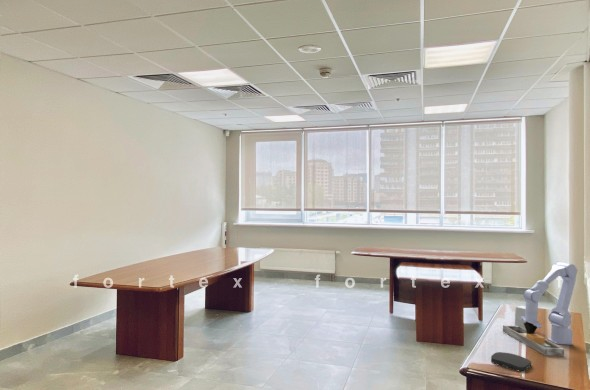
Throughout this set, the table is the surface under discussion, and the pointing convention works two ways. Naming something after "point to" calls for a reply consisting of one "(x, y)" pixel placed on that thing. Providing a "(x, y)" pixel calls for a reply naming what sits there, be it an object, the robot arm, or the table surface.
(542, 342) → the orange block
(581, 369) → the table surface
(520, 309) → the small box
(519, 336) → the trap lane
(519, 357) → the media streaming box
